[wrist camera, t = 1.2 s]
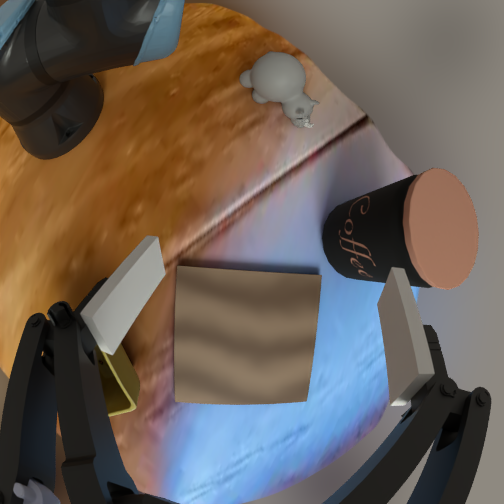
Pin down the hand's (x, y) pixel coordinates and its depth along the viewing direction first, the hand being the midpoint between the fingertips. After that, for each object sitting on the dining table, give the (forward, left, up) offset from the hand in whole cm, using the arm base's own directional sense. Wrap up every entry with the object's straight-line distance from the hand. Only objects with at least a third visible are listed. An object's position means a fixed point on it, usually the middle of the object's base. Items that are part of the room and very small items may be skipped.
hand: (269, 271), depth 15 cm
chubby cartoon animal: (-23, +4, -20) cm, 31 cm away
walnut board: (+10, +2, -19) cm, 22 cm away
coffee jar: (-4, +16, -19) cm, 26 cm away
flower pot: (+14, -16, -20) cm, 29 cm away
